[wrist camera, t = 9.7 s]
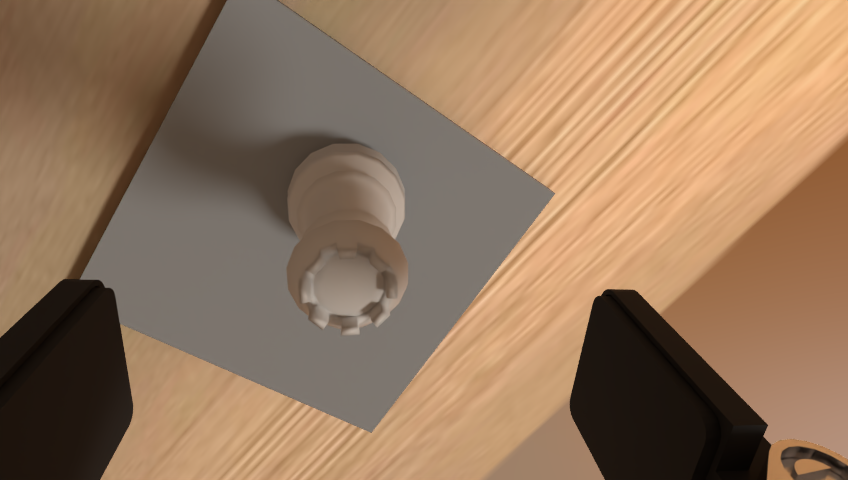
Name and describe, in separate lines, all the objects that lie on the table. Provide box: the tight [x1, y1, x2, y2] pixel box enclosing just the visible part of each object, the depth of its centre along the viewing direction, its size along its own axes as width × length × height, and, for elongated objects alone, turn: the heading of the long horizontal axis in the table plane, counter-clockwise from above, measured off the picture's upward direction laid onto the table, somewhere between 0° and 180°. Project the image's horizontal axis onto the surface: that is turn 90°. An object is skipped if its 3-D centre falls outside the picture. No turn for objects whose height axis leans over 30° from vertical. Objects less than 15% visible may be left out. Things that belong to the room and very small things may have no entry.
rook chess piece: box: [286, 144, 408, 336], centre depth 17 cm, size 4×4×8 cm
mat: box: [80, 0, 555, 433], centre depth 22 cm, size 14×14×1 cm
